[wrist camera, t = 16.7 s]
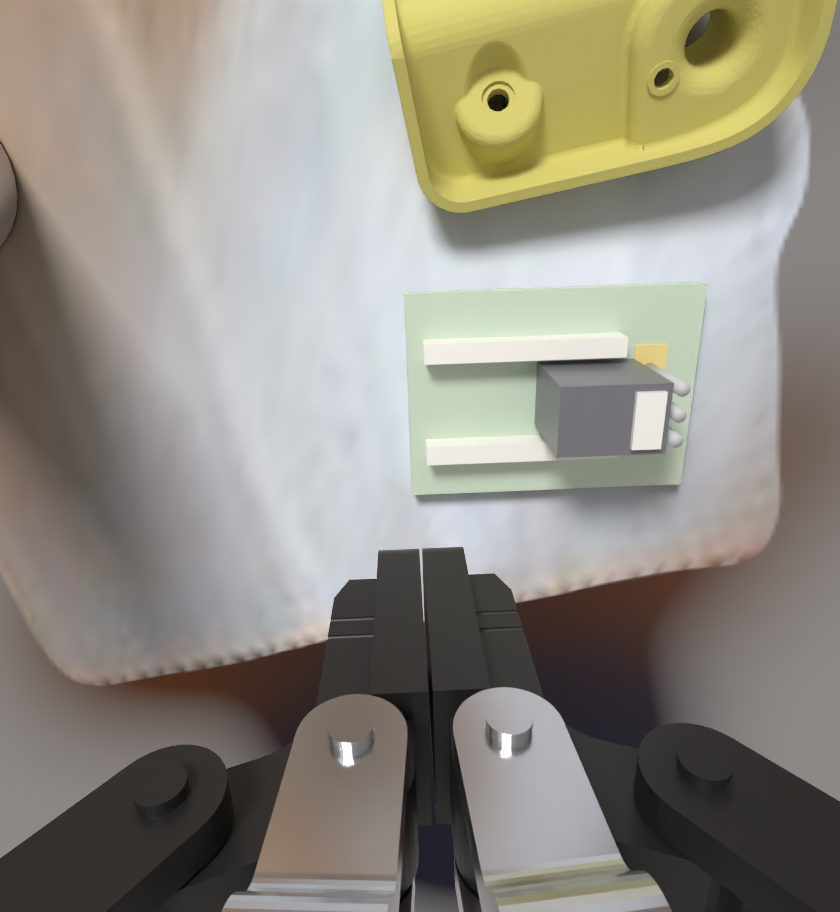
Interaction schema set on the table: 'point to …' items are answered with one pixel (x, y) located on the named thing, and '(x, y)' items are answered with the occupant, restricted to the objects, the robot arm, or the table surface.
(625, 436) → the plug
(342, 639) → the robot arm
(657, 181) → the table surface
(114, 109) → the table surface
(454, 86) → the plastic component
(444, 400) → the board
